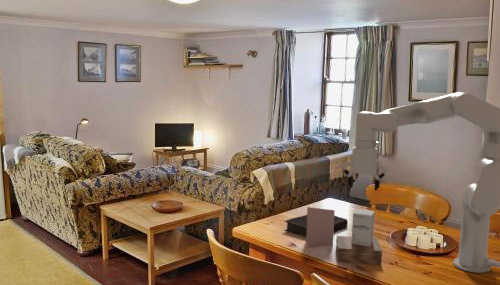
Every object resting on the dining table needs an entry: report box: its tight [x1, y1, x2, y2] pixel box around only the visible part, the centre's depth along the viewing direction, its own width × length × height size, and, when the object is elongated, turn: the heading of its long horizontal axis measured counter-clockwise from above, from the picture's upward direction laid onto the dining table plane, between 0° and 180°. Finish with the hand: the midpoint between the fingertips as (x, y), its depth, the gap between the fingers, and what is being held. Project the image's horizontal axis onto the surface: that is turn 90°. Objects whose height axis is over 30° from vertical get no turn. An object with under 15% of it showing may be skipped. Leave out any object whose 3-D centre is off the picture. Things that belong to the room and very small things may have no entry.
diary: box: [283, 214, 348, 237], centre depth 219 cm, size 19×25×5 cm
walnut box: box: [335, 235, 383, 266], centre depth 186 cm, size 16×14×6 cm
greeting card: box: [305, 207, 335, 248], centre depth 197 cm, size 11×7×15 cm, turn 70°
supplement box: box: [351, 208, 376, 247], centre depth 185 cm, size 7×7×13 cm
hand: (363, 188), depth 183 cm, fingers open, 9 cm apart
